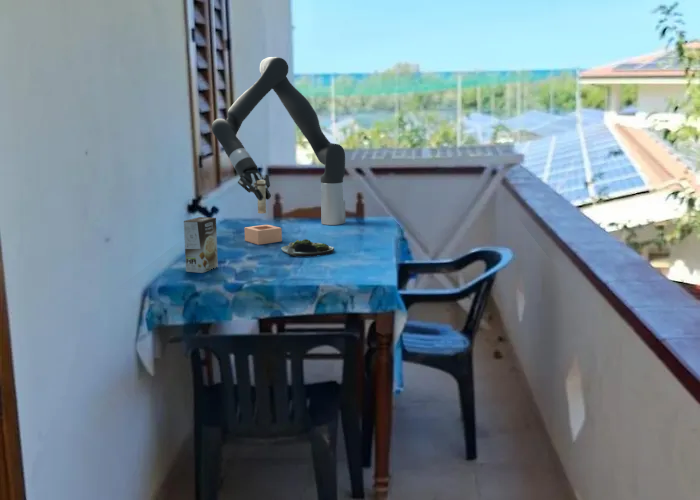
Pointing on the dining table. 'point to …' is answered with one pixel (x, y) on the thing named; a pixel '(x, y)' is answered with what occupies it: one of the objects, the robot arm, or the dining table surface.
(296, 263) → the dining table surface
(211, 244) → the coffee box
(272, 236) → the orange square ring
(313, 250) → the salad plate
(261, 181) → the birch peg
